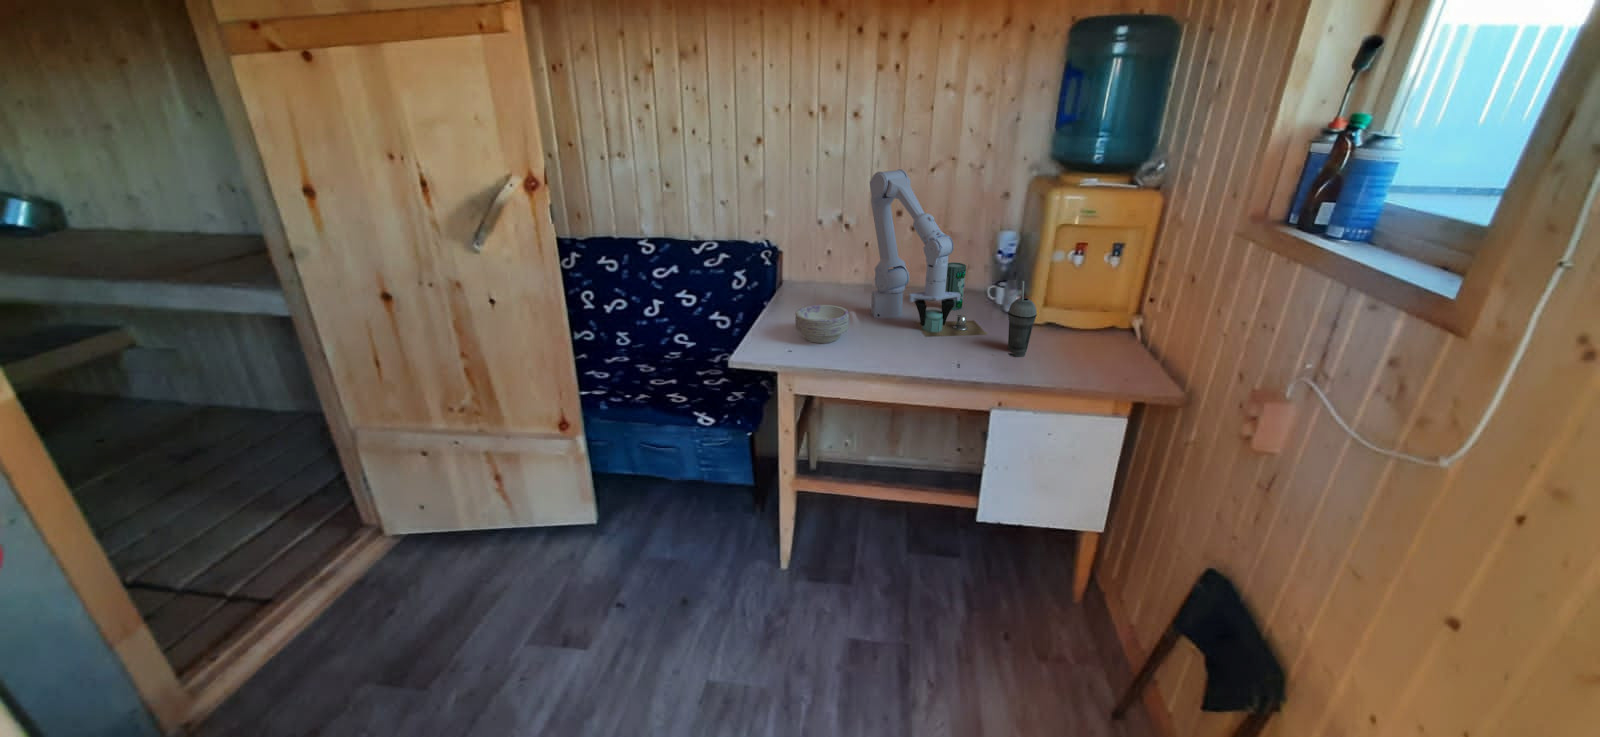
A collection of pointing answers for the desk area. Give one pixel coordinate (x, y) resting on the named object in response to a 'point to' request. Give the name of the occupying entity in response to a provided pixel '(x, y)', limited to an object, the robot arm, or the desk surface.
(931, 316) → the cap
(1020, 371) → the desk surface
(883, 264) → the robot arm
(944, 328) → the board
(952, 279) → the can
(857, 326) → the desk surface
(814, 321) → the paper bowls
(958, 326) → the silver rounded piece
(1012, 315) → the beverage cup
